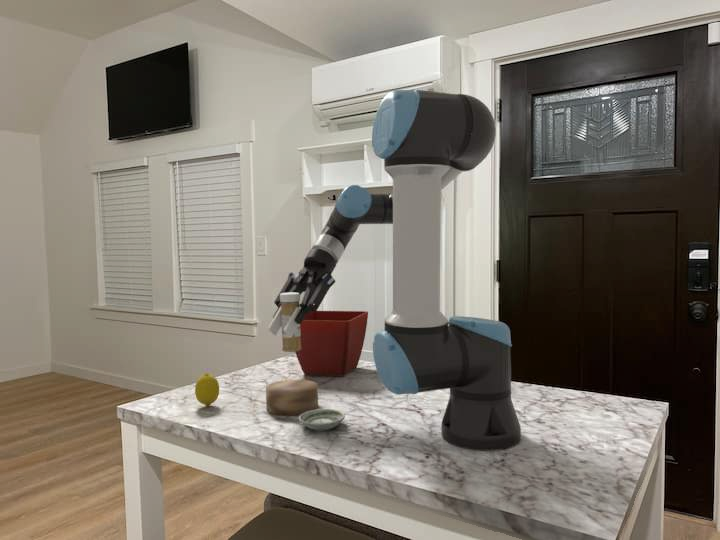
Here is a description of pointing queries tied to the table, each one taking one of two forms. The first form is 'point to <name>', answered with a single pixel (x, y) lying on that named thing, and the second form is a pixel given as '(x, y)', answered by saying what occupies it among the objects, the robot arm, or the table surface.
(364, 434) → the table surface
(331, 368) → the plant pot
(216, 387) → the lemon
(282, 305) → the sprinkles bottle
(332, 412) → the saucer
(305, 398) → the walnut pedestal
